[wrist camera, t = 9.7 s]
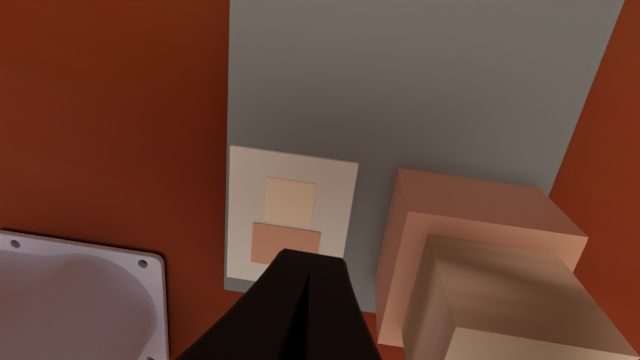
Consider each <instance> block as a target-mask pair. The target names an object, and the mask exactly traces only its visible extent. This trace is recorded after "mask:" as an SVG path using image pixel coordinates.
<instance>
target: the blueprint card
mask: <svg viewBox="0 0 640 360" xmlns="http://www.w3.org/2000/svg"><path fill="white" fill-rule="evenodd" d="M358 165H359V162H353V161H346V160H339V159H332V158H325V157H318V156H311V155H304V154H297V153H290V152H283V151H276V150H268V149H261V148H254V147H247V146H240V145H233V144H231V145H230V168H229V209H228V249H227V277H231V278H238V279H244V280H251V281H257V279H258V278H259V277H260V276H261V275H262V274H263V272H264V271H265V270H266V269H267V267H268V266H269V265H270V264H271V262H272V261H273V260H274V258H275V257H276V255H277V254H278V252H280V251H281V250H283V249H284V248H286V249H292V250H298V251H304V252H310V253H316V254H322V255H328V256H334V257H340V258H343V255H344V249H345V243H346V237H347V231H348V225H349V219H350V213H351V207H352V201H353V195H354V189H355V183H356V177H357V171H358Z"/></svg>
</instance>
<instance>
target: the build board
mask: <svg viewBox="0 0 640 360" xmlns="http://www.w3.org/2000/svg"><path fill="white" fill-rule="evenodd" d="M623 3H624V0H230V25H229V71H228V118H227V165H226V211H225V258H224V290H230V291H237V292H243V293H246V292H247V291H248V289H249V288H250V287H251V286H252V285H253V284H254V283H255V282H256V281H251V280H244V279H238V278H231V277H227V249H228V209H229V168H230V145H231V144H233V145H240V146H247V147H254V148H261V149H268V150H276V151H283V152H290V153H297V154H304V155H311V156H318V157H325V158H332V159H339V160H346V161H353V162H359V165H358V171H357V177H356V183H355V189H354V195H353V201H352V207H351V213H350V219H349V225H348V231H347V237H346V243H345V249H344V255H343V260H344V261H345V262H346V264H347V269H348V273H349V277H350V281H351V284H352V287H353V290H354V293H355V296H356V299H357V302H358V305H359V307H360V310H361V311H365V312H371V313H376V305H375V285H374V279H375V275H376V270H377V265H378V260H379V256H380V251H381V246H382V241H383V237H384V232H385V227H386V222H387V218H388V213H389V208H390V203H391V199H392V194H393V189H394V184H395V180H396V175H397V170H398V168H403V169H410V170H417V171H424V172H431V173H438V174H445V175H452V176H459V177H466V178H473V179H480V180H487V181H495V182H502V183H509V184H516V185H523V186H530V187H537V188H540V189H541V190H542V191H543V192H544V193H545V194H546V195H547V196H549V193H550V191H551V188H552V186H553V183H554V181H555V178H556V175H557V173H558V170H559V168H560V165H561V163H562V160H563V157H564V155H565V152H566V150H567V147H568V144H569V142H570V139H571V137H572V134H573V132H574V129H575V126H576V124H577V121H578V119H579V116H580V114H581V111H582V108H583V106H584V103H585V101H586V98H587V96H588V93H589V90H590V88H591V85H592V83H593V80H594V78H595V75H596V72H597V70H598V67H599V65H600V62H601V60H602V57H603V54H604V52H605V49H606V47H607V44H608V41H609V39H610V36H611V34H612V31H613V29H614V26H615V23H616V21H617V18H618V16H619V13H620V11H621V8H622V5H623Z"/></svg>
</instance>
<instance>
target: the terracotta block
mask: <svg viewBox="0 0 640 360" xmlns="http://www.w3.org/2000/svg"><path fill="white" fill-rule="evenodd" d="M428 233H429V234H436V235H442V236H448V237H455V238H461V239H467V240H473V241H480V242H486V243H492V244H499V245H505V246H511V247H518V248H524V249H530V250H537V251H543V252H549V253H556V254H557V255H558V256H559V257H560V258H561V260H562V261H563V262H564V263H565V265H566V266H567V267H568V268H569V270H570V271H571V272H572V273H573V271H574V269H575V266H576V264H577V262H578V260H579V258H580V255H581V253H582V251H583V249H584V247H585V244H586V242H587V240H588V238H589V237H588V236H587V235H586V234H585V233H584V232H583V231H582V230H581V229H580V228H579V227H578V226H577V225H576V224H575V223H574V222H573V221H572V220H571V219H570V218H569V217H568V216H567V215H566V214H565V213H564V212H563V211H562V210H561V209H560V208H559V207H558V206H557V205H556V204H555V203H554V202H553V201H552V200H551V199H550V198H549V197H548V196H547V195H546V194H545V193H544V192H543V191H542V190H541V189H540V188H537V187H530V186H523V185H516V184H509V183H502V182H495V181H487V180H480V179H473V178H466V177H459V176H452V175H445V174H438V173H431V172H424V171H417V170H410V169H403V168H398V170H397V175H396V180H395V184H394V189H393V194H392V199H391V203H390V208H389V213H388V218H387V222H386V227H385V232H384V237H383V241H382V246H381V251H380V256H379V260H378V265H377V270H376V275H375V279H374V285H375V305H376V324H377V343H380V344H386V345H392V346H399V347H403V340H402V332H401V329H402V325H403V321H404V318H405V314H406V311H407V307H408V303H409V300H410V296H411V293H412V289H413V285H414V282H415V278H416V275H417V271H418V267H419V264H420V260H421V257H422V253H423V249H424V246H425V242H426V238H427V235H428Z"/></svg>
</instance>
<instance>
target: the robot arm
mask: <svg viewBox="0 0 640 360" xmlns="http://www.w3.org/2000/svg"><path fill="white" fill-rule="evenodd" d="M17 241H18V242H19V243H18V242H17ZM142 260H145V261H146V262H147V264H146V263H144V262H143V261H142ZM0 360H169V345H168V326H167V307H166V288H165V269H164V260H163V259H162V257H160V256H159V255H157V254H153V253H147V252H140V251H134V250H127V249H121V248H114V247H108V246H101V245H95V244H88V243H82V242H75V241H69V240H62V239H56V238H49V237H43V236H36V235H30V234H23V233H17V232H10V231H4V230H0ZM175 360H382V358H381V356H380V354H379V352H378V350H377V348H376V345H375V343H374V341H373V339H372V336H371V334H370V332H369V329H368V327H367V325H366V322H365V320H364V317H363V315H362V312H361V310H360V307H359V305H358V302H357V299H356V296H355V293H354V290H353V287H352V284H351V281H350V277H349V273H348V269H347V264H346V262H345V261H344V260H343V258H340V257H334V256H328V255H322V254H316V253H310V252H304V251H298V250H292V249H286V248H284V249H283V250H281V251H280V252H278V254H277V255H276V257H275V258H274V260H273V261H272V262H271V264H270V265H269V266H268V267H267V269H266V270H265V271H264V272H263V274H262V275H261V276H260V277H259V278H258V279H257V281H256V282H255V283H254V284H253V285H252V286H251V287H250V288H249V289H248V291H247V292H246V293H245V294H244V295H243V296H242V297H241V298H240V299H239V300H238V301H237V302H236V303H235V304H234V305H233V306H232V308H231V309H230V310H229V311H228V312H227V313H226V314H225V315H224V316H222V317H221V318H220V319H219V320H218V321H217V322H216V323H215V324H214V325H213V326H212V327H211V328H210V329H209V330H207V331H206V332H205V333H204V334H203V335H202V336H201V337H200V338H199V339H198V340H197V341H196V342H195V343H194V344H192V345H191V346H190V347H189V348H188V349H187V350H185V351H184V352H183V353H182V354H181V355H180V356H179V357H177V358H176V359H175Z"/></svg>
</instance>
